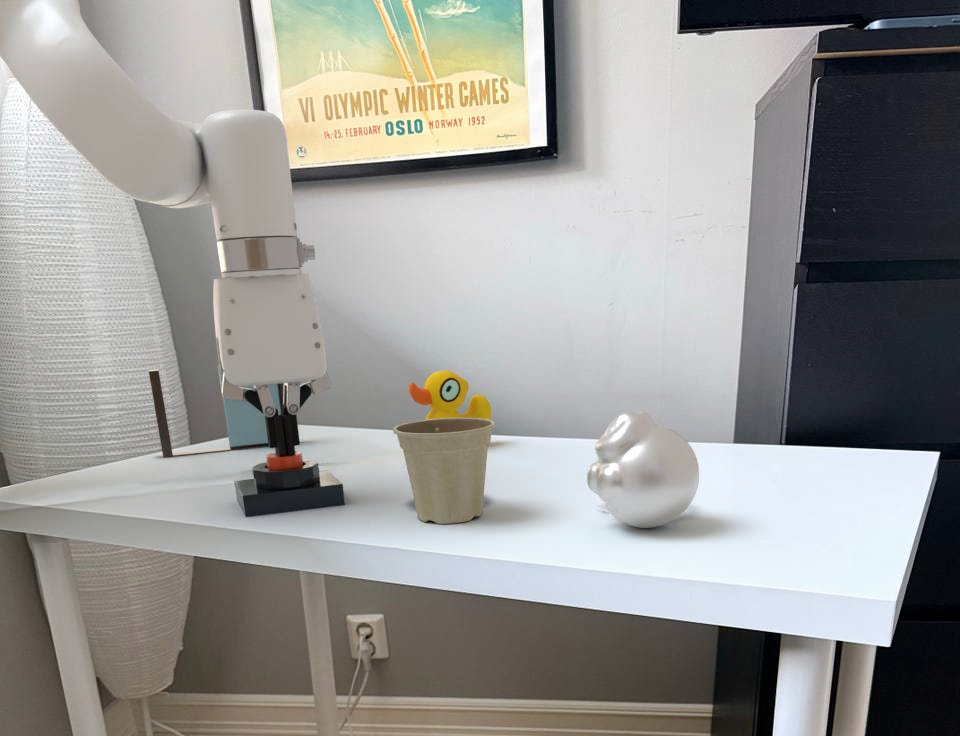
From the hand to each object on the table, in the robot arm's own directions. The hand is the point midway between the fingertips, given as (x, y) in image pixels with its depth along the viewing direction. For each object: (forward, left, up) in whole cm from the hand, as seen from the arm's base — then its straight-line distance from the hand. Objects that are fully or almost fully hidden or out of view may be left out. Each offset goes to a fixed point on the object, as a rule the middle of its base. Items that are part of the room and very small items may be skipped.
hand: (285, 453), depth 95 cm
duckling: (+25, +21, -5) cm, 33 cm away
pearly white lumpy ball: (+27, -26, -5) cm, 38 cm away
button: (0, 0, -2) cm, 2 cm away
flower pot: (+13, -14, -5) cm, 20 cm away
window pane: (0, +30, -3) cm, 30 cm away
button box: (0, 0, -5) cm, 5 cm away
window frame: (-3, +30, -5) cm, 31 cm away
